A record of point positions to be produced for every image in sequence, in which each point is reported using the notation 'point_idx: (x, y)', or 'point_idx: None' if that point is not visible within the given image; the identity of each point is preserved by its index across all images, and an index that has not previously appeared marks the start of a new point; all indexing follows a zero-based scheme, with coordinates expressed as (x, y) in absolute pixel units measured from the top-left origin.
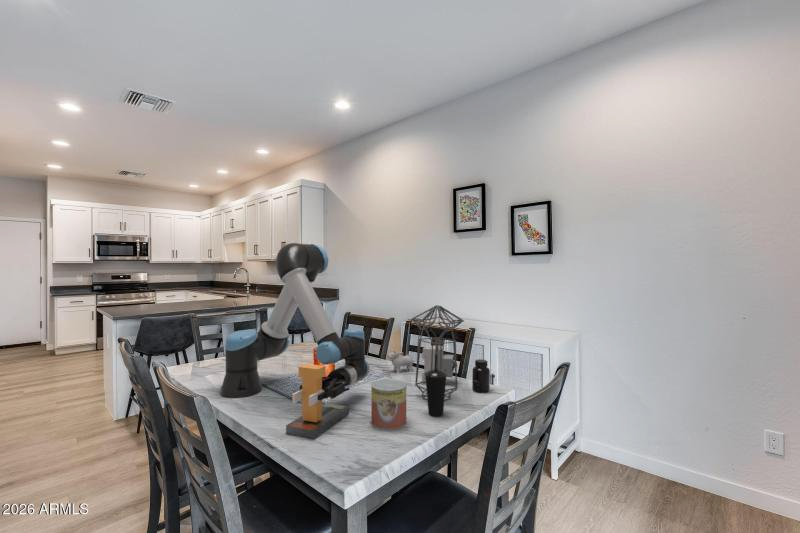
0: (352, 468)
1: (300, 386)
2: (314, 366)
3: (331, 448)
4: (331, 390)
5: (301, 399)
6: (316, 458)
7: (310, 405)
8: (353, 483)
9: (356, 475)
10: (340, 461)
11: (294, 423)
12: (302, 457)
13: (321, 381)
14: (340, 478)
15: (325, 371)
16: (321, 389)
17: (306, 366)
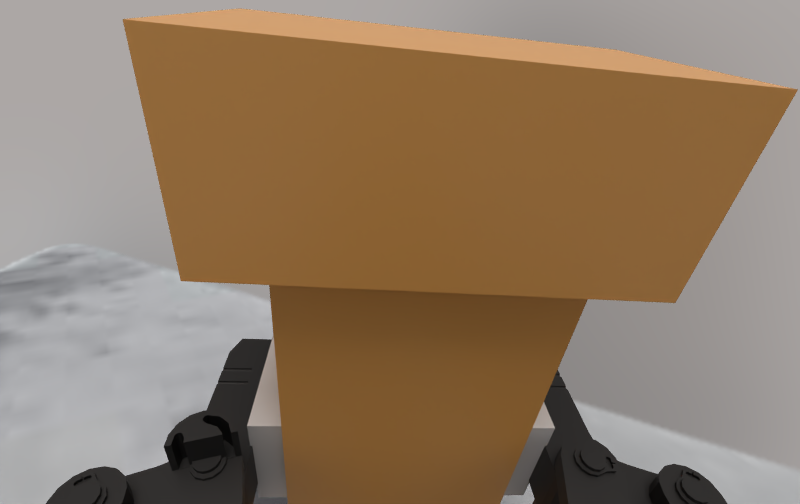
0: (28, 305)
1: (676, 466)
2: (409, 36)
3: (143, 397)
4: (102, 478)
5: None
6: (198, 321)
7: None
8: (33, 256)
9: (15, 282)
10: (84, 327)
11: None
12: (258, 314)
13: (276, 339)
14: (81, 264)
15: (161, 189)
16: (283, 429)
17: (546, 46)
